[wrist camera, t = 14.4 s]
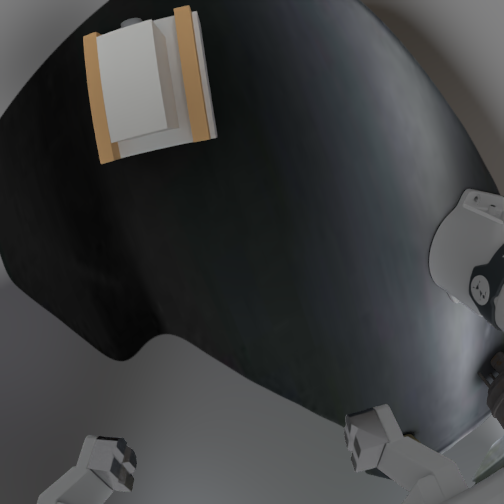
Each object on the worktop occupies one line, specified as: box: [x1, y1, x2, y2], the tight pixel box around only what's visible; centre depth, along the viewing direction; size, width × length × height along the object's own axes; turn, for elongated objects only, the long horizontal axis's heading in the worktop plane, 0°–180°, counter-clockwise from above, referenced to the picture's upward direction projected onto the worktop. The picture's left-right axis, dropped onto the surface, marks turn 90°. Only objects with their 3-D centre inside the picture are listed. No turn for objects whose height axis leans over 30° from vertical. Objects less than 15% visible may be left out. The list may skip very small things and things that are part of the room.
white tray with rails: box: [83, 6, 218, 164], centre depth 27 cm, size 12×14×6 cm
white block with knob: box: [96, 18, 179, 143], centre depth 24 cm, size 12×5×6 cm, turn 9°
